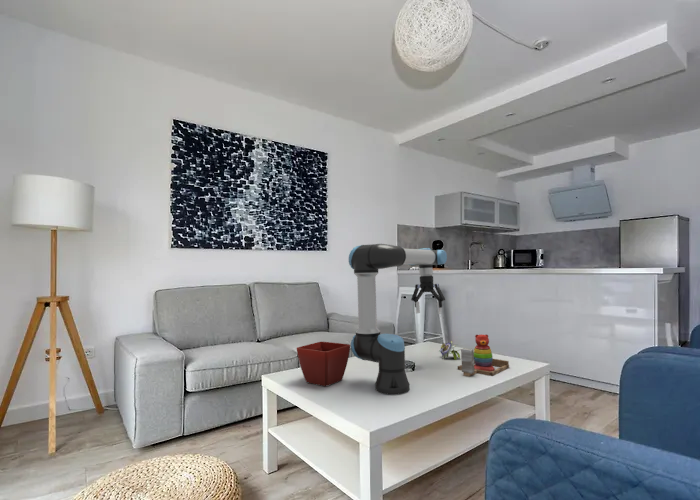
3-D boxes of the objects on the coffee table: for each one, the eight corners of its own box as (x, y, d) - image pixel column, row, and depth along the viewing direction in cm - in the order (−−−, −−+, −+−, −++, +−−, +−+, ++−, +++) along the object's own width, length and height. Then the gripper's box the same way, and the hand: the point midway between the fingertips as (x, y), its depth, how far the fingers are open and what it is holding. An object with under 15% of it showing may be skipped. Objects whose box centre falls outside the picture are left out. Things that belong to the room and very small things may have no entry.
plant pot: (321, 373, 192) (321, 340, 193) (352, 379, 181) (351, 344, 182) (296, 383, 177) (295, 347, 178) (327, 390, 166) (326, 351, 167)
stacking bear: (472, 371, 190) (471, 335, 191) (472, 366, 200) (470, 332, 201) (495, 372, 187) (493, 336, 188) (493, 367, 197) (492, 333, 198)
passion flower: (444, 368, 217) (433, 349, 223) (458, 362, 222) (447, 344, 228) (453, 360, 209) (442, 341, 215) (467, 354, 213) (456, 336, 219)
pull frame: (484, 379, 174) (483, 352, 175) (449, 372, 187) (448, 347, 188) (509, 367, 194) (508, 343, 195) (475, 362, 207) (474, 339, 208)
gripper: (449, 274, 206) (452, 313, 204) (411, 276, 222) (413, 312, 220) (443, 274, 200) (445, 314, 198) (404, 276, 217) (406, 313, 215)
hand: (428, 313), depth 209 cm, fingers open, 13 cm apart
